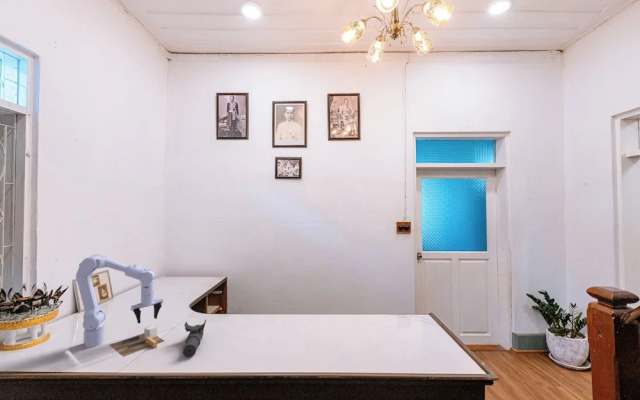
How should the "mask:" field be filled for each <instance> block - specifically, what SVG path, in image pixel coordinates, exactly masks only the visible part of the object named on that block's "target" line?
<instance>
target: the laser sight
mask: <svg viewBox="0 0 640 400" xmlns="http://www.w3.org/2000/svg"><path fill="white" fill-rule="evenodd" d="M206 323H207V319H204V322H203V323H202V324H196V325H190V324H189V323H188V321H185V323H184V329H185V332H189V333H188V335H187V337H186V340H185V345H184V347H183V350H182V354H183V356H184V357H187V358H191V357H193V356H195V354H196V351H197V350H198V347H199V346H201V342H202V339H203V336H204V329H205V327H206Z"/></svg>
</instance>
